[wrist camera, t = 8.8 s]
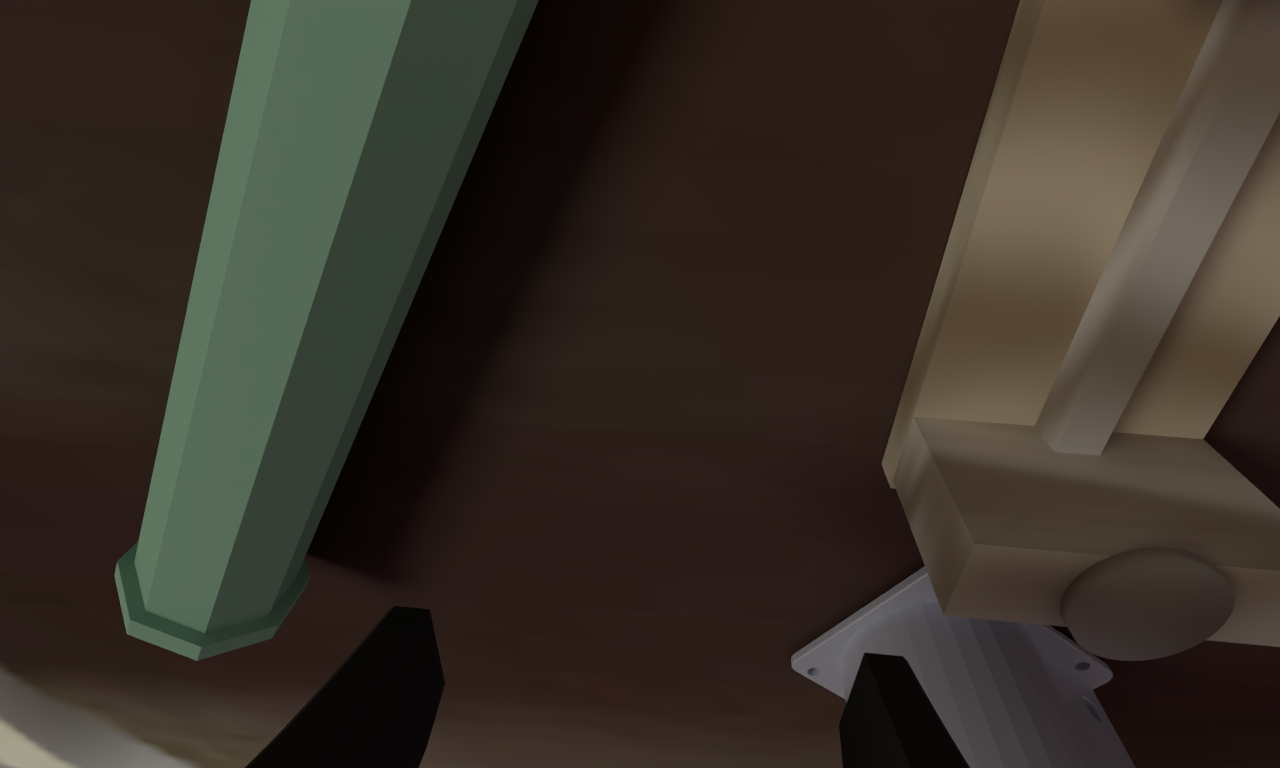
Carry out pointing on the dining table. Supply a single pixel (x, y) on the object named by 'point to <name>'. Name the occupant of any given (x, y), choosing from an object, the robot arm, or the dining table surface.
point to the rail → (1105, 333)
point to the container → (303, 292)
